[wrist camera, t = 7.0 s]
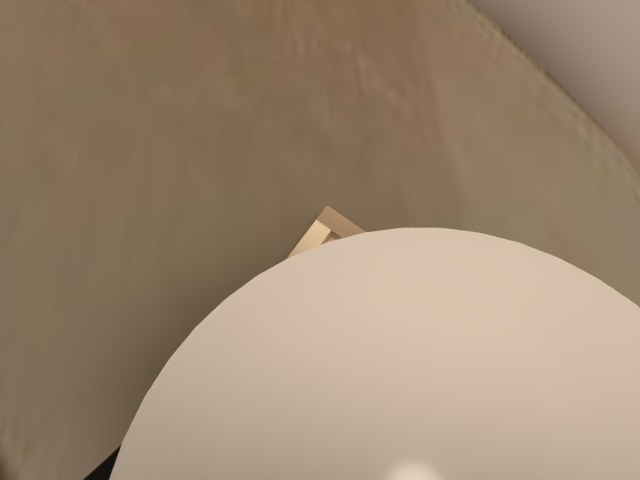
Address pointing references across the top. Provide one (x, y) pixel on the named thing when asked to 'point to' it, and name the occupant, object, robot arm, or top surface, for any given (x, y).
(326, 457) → the candle
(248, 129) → the top surface
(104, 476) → the robot arm
